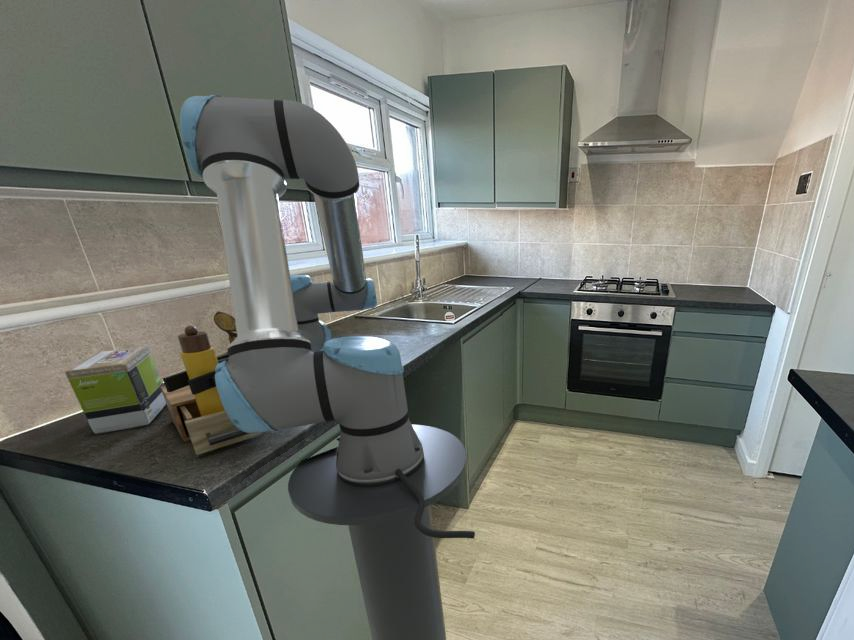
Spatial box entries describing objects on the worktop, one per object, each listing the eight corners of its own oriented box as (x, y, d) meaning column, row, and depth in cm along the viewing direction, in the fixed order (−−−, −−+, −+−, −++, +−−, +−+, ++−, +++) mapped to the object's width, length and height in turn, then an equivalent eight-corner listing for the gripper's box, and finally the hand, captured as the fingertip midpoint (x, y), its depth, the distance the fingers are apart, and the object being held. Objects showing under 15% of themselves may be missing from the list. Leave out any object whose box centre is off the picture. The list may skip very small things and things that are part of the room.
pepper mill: (240, 429, 84) (209, 325, 77) (210, 438, 81) (174, 330, 73) (233, 421, 88) (203, 321, 80) (204, 430, 84) (169, 326, 77)
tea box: (121, 408, 101) (97, 350, 96) (171, 401, 104) (151, 344, 99) (91, 435, 88) (62, 369, 83) (150, 425, 92) (125, 362, 86)
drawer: (269, 441, 82) (261, 410, 79) (201, 463, 74) (189, 430, 72) (244, 415, 93) (236, 387, 91) (183, 432, 86) (173, 403, 84)
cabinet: (252, 421, 92) (242, 386, 89) (184, 442, 84) (170, 404, 81) (235, 404, 102) (225, 372, 99) (172, 421, 93) (160, 386, 90)
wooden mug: (247, 364, 131) (231, 308, 125) (279, 368, 127) (264, 310, 120) (220, 374, 124) (202, 314, 117) (253, 378, 119) (236, 316, 112)
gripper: (313, 367, 95) (224, 409, 75) (249, 363, 100) (148, 401, 79) (306, 336, 93) (212, 370, 72) (241, 333, 97) (134, 364, 76)
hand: (179, 386), depth 76 cm, fingers closed on pepper mill, 5 cm apart
